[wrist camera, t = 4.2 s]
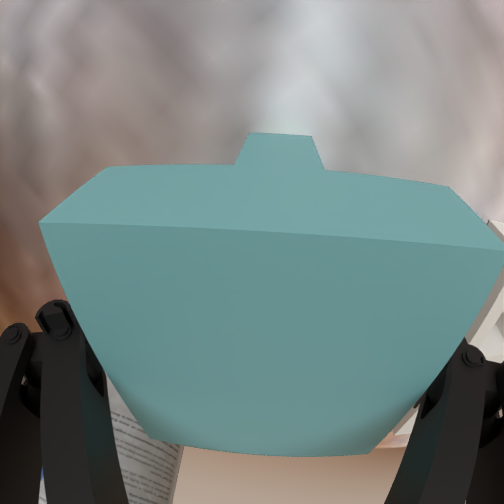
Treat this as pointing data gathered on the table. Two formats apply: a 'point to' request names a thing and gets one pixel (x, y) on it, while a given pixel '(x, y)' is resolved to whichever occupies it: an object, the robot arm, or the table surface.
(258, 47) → the table surface
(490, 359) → the rail
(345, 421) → the teal block with tab
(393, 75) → the table surface
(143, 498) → the supplement tub
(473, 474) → the robot arm
